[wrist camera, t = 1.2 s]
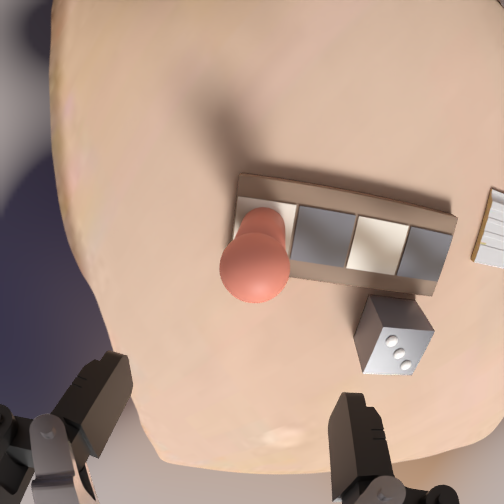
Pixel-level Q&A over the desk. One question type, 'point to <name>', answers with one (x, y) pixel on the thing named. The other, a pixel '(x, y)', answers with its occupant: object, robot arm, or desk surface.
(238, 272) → the pawn
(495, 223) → the baseboard
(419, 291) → the game strip
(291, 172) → the desk surface
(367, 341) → the die
